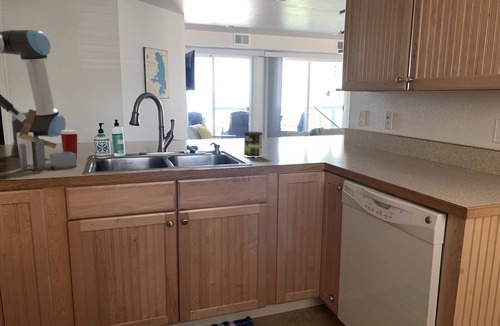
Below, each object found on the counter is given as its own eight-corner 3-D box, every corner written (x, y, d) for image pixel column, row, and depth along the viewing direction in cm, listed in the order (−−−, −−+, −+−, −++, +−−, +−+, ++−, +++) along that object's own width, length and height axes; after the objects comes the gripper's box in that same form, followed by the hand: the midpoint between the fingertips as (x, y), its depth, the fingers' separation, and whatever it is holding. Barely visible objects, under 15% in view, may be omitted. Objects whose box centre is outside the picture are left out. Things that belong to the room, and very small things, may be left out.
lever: (17, 137, 162) (28, 109, 163) (51, 147, 172) (61, 120, 173) (20, 138, 158) (31, 109, 159) (55, 148, 167) (65, 121, 169)
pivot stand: (29, 168, 168) (26, 138, 166) (43, 166, 172) (41, 137, 170) (34, 171, 161) (32, 139, 159) (49, 169, 166) (47, 139, 163)
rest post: (20, 169, 163) (18, 143, 162) (25, 169, 165) (23, 143, 163) (22, 171, 161) (20, 144, 159) (27, 170, 162) (25, 144, 160)
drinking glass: (20, 163, 178) (18, 132, 176) (36, 163, 181) (34, 132, 178) (17, 166, 172) (14, 133, 169) (34, 165, 174) (32, 133, 172)
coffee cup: (82, 158, 196) (81, 130, 194) (73, 161, 188) (72, 131, 186) (67, 158, 197) (65, 129, 194) (58, 160, 189) (56, 130, 186)
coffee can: (252, 158, 208) (252, 133, 206) (240, 156, 215) (240, 132, 213) (265, 157, 215) (266, 132, 212) (253, 155, 222) (253, 131, 220)
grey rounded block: (50, 166, 174) (49, 153, 173) (70, 164, 180) (69, 151, 179) (56, 168, 168) (55, 155, 167) (76, 166, 173) (75, 153, 172)
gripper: (-38, 84, 149) (13, 125, 163) (-34, 83, 140) (21, 126, 154) (-23, 71, 152) (26, 113, 166) (-18, 69, 143) (34, 113, 156)
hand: (24, 119), depth 160 cm, fingers closed
